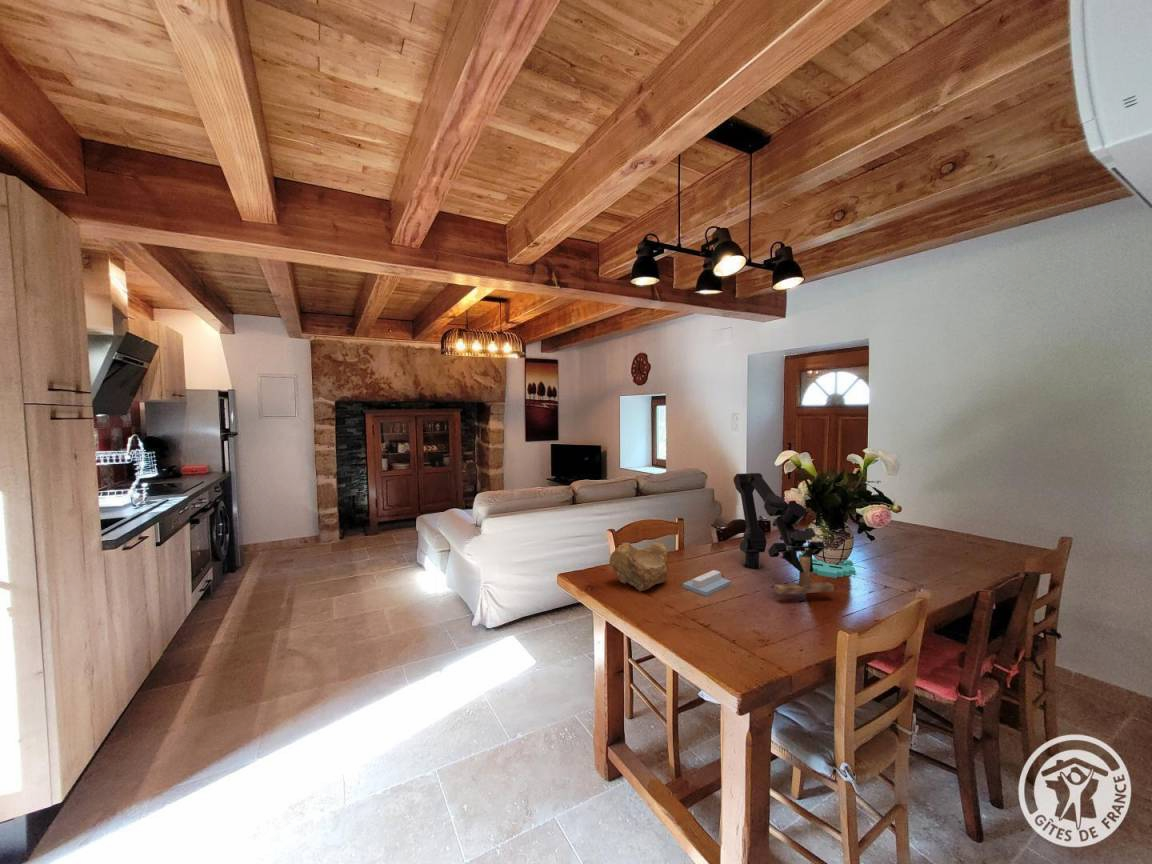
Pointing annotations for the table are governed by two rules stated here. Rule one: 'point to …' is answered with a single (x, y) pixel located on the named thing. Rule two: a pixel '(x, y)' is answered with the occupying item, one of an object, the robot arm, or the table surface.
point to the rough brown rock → (640, 565)
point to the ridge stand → (707, 583)
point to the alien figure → (832, 568)
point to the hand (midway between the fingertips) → (807, 572)
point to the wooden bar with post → (804, 582)
